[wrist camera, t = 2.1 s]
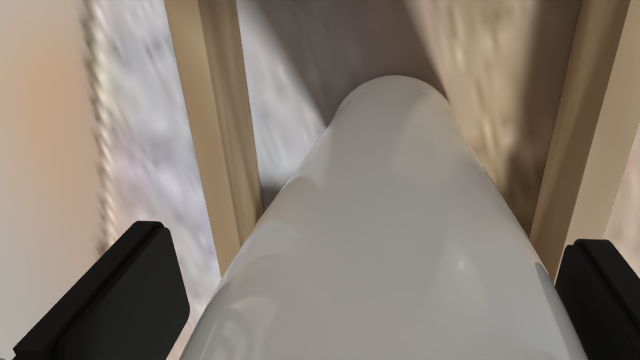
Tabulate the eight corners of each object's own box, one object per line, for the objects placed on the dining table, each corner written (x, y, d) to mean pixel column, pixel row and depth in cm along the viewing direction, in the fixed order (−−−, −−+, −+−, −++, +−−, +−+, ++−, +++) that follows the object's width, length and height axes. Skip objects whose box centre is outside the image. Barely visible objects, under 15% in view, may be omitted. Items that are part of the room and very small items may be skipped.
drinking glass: (501, 156, 18) (755, 670, 5) (368, 219, 21) (309, 659, 8) (424, 18, 16) (514, 279, 3) (288, 108, 19) (27, 450, 6)
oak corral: (626, -29, 14) (686, -26, 11) (548, 272, 20) (573, 327, 17) (206, -9, 17) (163, -2, 14) (248, 251, 23) (225, 295, 20)
